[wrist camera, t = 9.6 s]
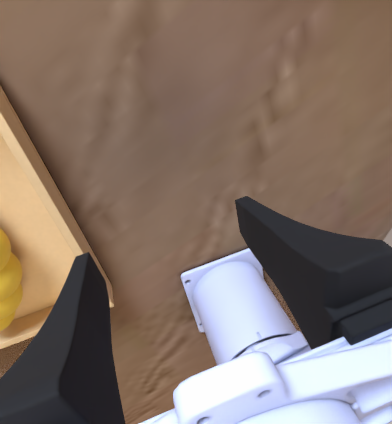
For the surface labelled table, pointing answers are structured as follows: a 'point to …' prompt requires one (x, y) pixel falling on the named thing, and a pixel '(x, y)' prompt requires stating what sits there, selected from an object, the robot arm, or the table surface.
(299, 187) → the table surface
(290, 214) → the table surface
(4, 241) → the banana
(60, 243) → the tray
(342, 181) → the table surface
